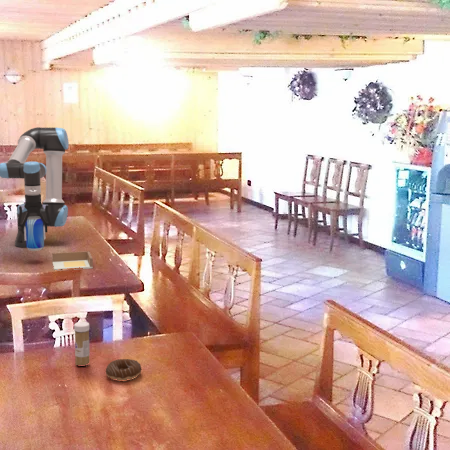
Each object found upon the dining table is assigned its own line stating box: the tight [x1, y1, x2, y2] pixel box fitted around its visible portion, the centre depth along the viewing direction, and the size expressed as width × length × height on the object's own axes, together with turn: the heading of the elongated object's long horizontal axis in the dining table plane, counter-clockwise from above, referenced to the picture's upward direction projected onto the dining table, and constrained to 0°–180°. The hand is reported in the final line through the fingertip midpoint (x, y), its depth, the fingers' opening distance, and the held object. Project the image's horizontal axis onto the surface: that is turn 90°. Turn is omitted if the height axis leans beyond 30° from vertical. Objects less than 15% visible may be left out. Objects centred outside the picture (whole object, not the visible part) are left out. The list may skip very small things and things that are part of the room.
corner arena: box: [51, 250, 94, 271], centre depth 316 cm, size 15×18×5 cm
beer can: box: [25, 216, 45, 252], centre depth 317 cm, size 8×8×16 cm
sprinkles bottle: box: [73, 321, 90, 366], centre depth 199 cm, size 5×5×14 cm
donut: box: [105, 358, 142, 380], centre depth 193 cm, size 11×11×4 cm
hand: (35, 239), depth 318 cm, fingers closed on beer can, 8 cm apart
